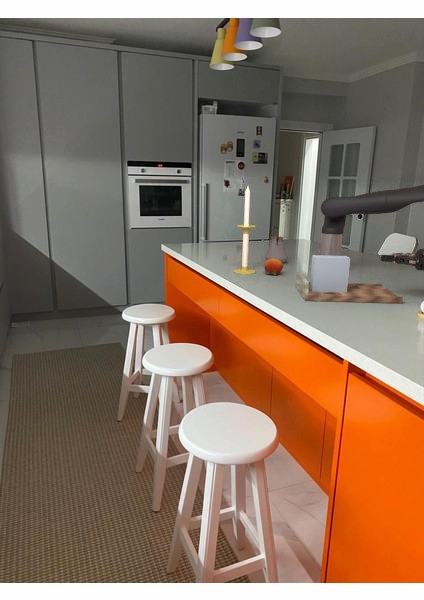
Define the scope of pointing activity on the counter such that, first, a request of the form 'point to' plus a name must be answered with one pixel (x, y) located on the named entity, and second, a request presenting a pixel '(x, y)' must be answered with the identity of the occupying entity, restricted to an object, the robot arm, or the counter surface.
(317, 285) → the block
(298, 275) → the lane
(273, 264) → the fruit
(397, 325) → the counter surface
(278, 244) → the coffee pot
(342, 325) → the counter surface
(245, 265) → the candle
